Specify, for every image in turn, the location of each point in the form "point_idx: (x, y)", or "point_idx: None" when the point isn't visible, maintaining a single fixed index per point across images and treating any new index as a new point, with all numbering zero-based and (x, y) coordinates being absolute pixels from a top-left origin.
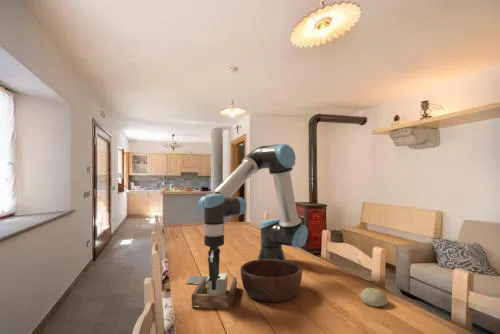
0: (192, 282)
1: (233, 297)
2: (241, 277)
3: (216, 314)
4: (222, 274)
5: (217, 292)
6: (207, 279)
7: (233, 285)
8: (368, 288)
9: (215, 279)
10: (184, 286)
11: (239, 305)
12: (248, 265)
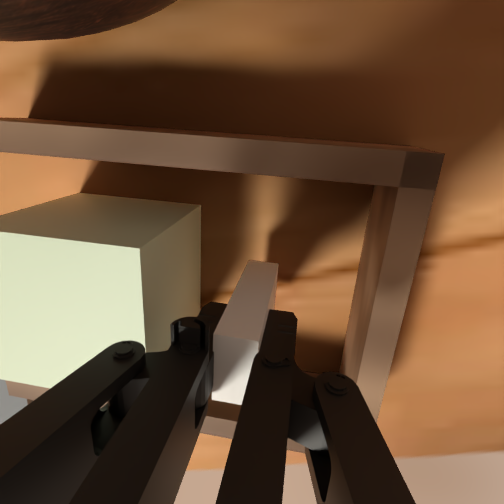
0: (19, 406)
1: (252, 135)
2: (37, 32)
3: (484, 252)
4: (4, 274)
5: (274, 281)
6: None
7: (161, 141)
8: None
9: (361, 397)
10: None
11: (357, 76)
12: None
